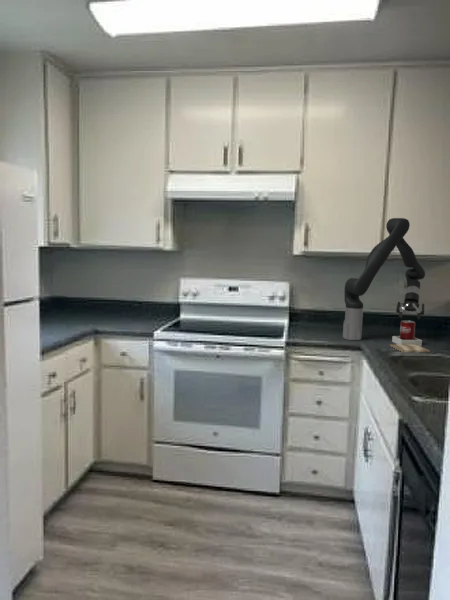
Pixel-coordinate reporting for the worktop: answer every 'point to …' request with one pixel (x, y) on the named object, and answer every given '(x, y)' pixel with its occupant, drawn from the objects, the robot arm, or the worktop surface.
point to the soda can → (407, 330)
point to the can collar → (406, 341)
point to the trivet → (409, 348)
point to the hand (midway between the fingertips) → (409, 319)
